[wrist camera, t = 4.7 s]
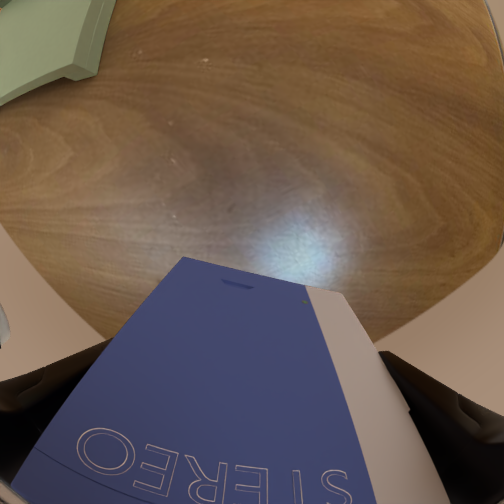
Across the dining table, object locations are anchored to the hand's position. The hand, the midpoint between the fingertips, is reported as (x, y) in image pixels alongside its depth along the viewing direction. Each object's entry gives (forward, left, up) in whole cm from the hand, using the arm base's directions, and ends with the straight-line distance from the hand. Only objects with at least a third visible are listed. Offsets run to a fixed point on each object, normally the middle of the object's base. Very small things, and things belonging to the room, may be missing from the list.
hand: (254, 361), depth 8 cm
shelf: (+20, +19, -8) cm, 29 cm away
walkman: (0, 0, -5) cm, 5 cm away
